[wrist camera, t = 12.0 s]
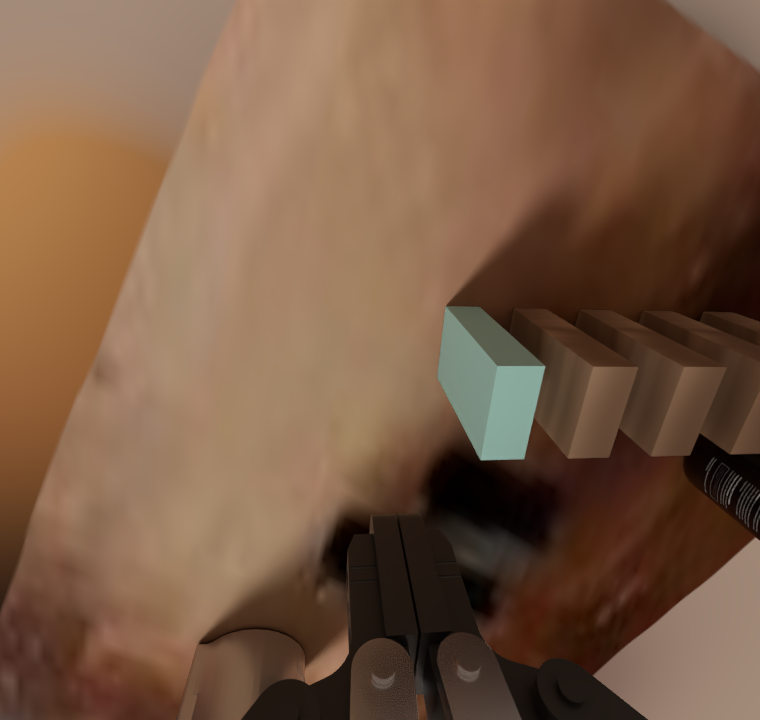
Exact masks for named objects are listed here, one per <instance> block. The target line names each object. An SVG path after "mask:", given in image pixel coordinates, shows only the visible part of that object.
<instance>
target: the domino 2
mask: <svg viewBox="0 0 760 720" xmlns="http://www.w3.org/2000/svg"><path fill="white" fill-rule="evenodd" d="M509 334H510V335H511V336H513V337H514V338H515V339H516V340H517V341H518V342H519V343H520V344H521V345H522V346H524V347H525V348H526V349H527V350H528V351H529V352H530V353H531V354H532V355H534V356H535V357H536V358H537V359H538V360H539V361H540V362H541V363H542V364H544V365H545V370H544V374H543V379H542V383H541V387H540V392H539V396H538V400H537V405H536V409H535V413H534V419H535V420H536V421H537V422H538V423H539V425H540V426H541V427H542V428H543V429H544V431H545V432H546V433H547V434H548V435H549V437H550V438H551V439H552V440H553V441H554V443H555V444H556V445H557V446H558V447H559V449H560V450H561V451H562V452H563V453H564V455H565V456H566V457H567V458H568V459H570V458H607V457H609V456H610V453H611V450H612V447H613V444H614V441H615V438H616V434H617V431H618V428H619V425H620V422H621V419H622V416H623V413H624V410H625V407H626V404H627V401H628V398H629V395H630V392H631V389H632V386H633V383H634V380H635V376H636V373H637V370H638V366H637V365H635V364H633V363H632V362H630V361H629V360H627V359H625V358H624V357H622V356H621V355H619V354H617V353H616V352H614V351H613V350H611V349H609V348H608V347H606V346H605V345H603V344H601V343H600V342H598V341H597V340H595V339H594V338H592V337H590V336H589V335H587V334H586V333H584V332H582V331H581V330H579V329H578V328H576V327H574V326H573V325H571V324H570V323H568V322H566V321H565V320H563V319H562V318H560V317H559V316H557V315H555V314H554V313H552V312H551V311H549V310H547V309H540V308H513V314H512V319H511V324H510V330H509Z"/></svg>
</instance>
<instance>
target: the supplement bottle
mask: <svg viewBox="0 0 760 720" xmlns="http://www.w3.org/2000/svg"><path fill="white" fill-rule="evenodd" d="M683 468H684V472H685V475H686V477H687V479H688V480H689V481H690V482H691V483H692V484H693V485H694V486H695V487H696V488H697V489H699V490H700V491H701V492H702V493H703V494H704V495H706V496H707V497H708V498H709V499H710V500H712V501H713V502H714V503H715V504H716V505H718V506H719V507H720V508H721V509H722V510H724V511H725V512H726V513H727V514H728V515H730V516H731V517H732V518H733V519H734V520H736V521H737V522H738V523H739V524H740V525H742V526H743V527H744V528H745V529H746V530H748V531H749V532H750V533H751V534H752V535H754V536H755V537H756V538H757V539H758V540H760V454H729V453H727V452H726V451H725V450H723V449H722V448H720V447H719V446H717V445H716V444H715V443H713V442H712V441H710V440H709V439H708V438H706V437H705V436H703V435H702V434H700V433H699V435H698V438H697V440H696V442H695V445H694V447H693V449H692V452H691V454H690V455H686V456H684V461H683Z"/></svg>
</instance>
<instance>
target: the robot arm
mask: <svg viewBox="0 0 760 720" xmlns="http://www.w3.org/2000/svg"><path fill="white" fill-rule="evenodd" d="M346 587H347V613H348V640H349V654H348V656H347V658H346V660H345V662H344V663H343V664H342V666H341V667H340V668H339V669H338V670H337V671H336V672H334V673H333V674H332V675H330V676H328V677H326V678H324V679H322V680H320V681H318V682H316V683H314V684H311V685H308V684H306V683H305V655H304V651H303V650H302V648H301V646H300V645H299V644H298V643H297V642H296V641H295V640H293V639H292V638H290V637H288V636H287V635H284V634H281V633H279V632H275V631H270V630H261V629H251V630H242V631H237V632H232V633H230V634H227V635H224V636H222V637H220V638H219V639H217V640H215V641H213V642H211V643H209V644H200V645H197V647H196V650H195V654H194V658H193V661H192V665H191V668H190V672H189V675H188V679H187V683H186V686H185V690H184V693H183V697H182V700H181V704H180V707H179V711H178V715H177V718H176V720H419V719H418V708H417V698H416V695H419V694H424V700H425V705H426V711H427V717H426V720H648V719H646V718H645V717H644V716H642V715H641V714H640V713H639V712H637V711H636V710H635V709H633V708H632V707H631V706H630V705H629V704H627V703H626V702H624V700H622V699H621V698H620V697H619V696H617V695H616V694H615V693H613V692H612V691H611V690H610V689H608V688H607V687H606V686H605V685H603V684H602V683H601V682H600V681H598V680H597V679H596V678H595V677H593V676H592V675H591V674H589V673H588V672H587V671H586V670H584V669H583V668H582V667H580V666H579V665H577V664H575V663H574V662H571V661H569V660H566V659H561V658H555V659H550V660H547V661H546V662H544V663H543V664H542V665H541V667H540V669H538V668H534V667H531V666H527V665H523V664H520V663H516V662H513V661H510V660H507V659H505V658H503V657H501V656H500V655H498V654H497V653H496V652H494V651H493V650H492V649H491V648H490V647H489V646H488V645H487V643H486V642H485V641H484V640H483V638H482V636H481V635H480V632H479V630H478V627H477V624H476V621H475V618H474V615H473V612H472V609H471V605H470V602H469V599H468V596H467V593H466V590H465V587H464V584H463V580H462V578H461V574H460V571H459V568H458V565H457V564H456V559H455V555H454V552H453V549H452V546H451V544H450V543H449V541H448V540H447V539H446V538H445V537H444V535H443V534H442V533H441V532H440V531H426V528H425V524H424V520H423V516H422V514H421V513H400V514H396V515H395V514H377V515H371V517H370V532H369V534H354V536H353V538H352V541H351V543H350V545H349V548H348V553H347V586H346Z"/></svg>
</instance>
